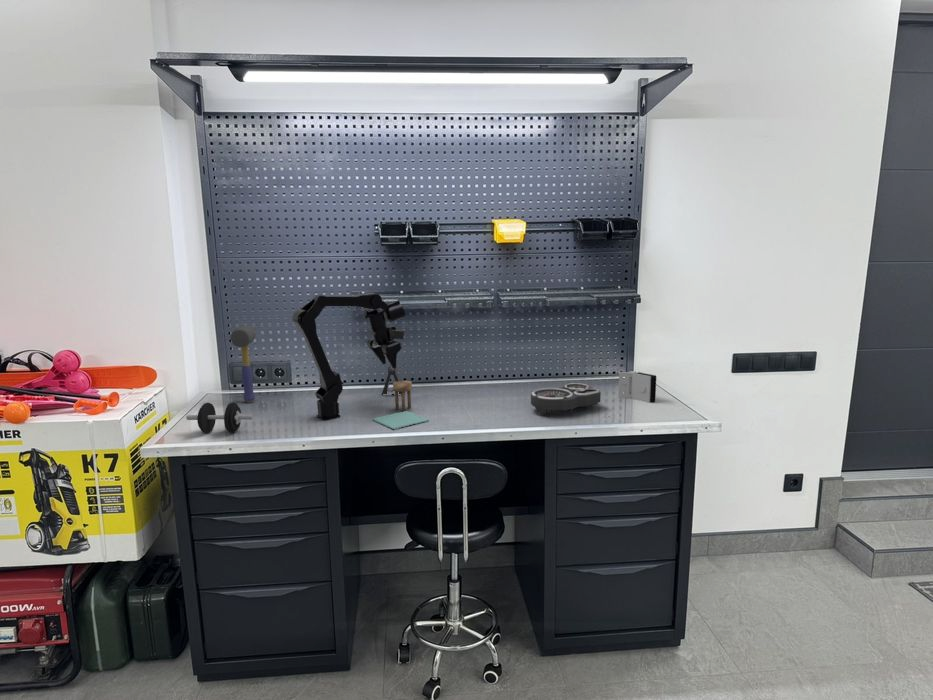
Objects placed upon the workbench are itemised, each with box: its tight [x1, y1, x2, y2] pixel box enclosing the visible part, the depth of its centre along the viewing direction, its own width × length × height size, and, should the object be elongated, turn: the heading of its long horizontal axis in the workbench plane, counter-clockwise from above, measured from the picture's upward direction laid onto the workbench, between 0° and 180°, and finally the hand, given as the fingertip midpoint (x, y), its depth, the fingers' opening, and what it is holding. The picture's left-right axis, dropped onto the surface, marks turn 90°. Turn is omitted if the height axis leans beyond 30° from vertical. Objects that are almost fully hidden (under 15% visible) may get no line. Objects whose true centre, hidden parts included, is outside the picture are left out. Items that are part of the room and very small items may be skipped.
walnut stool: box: [392, 380, 413, 412], centre depth 207 cm, size 7×7×10 cm
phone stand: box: [381, 364, 402, 396], centre depth 230 cm, size 9×6×12 cm, turn 91°
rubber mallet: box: [230, 324, 257, 404], centre depth 219 cm, size 12×8×30 cm, turn 8°
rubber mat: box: [372, 410, 430, 430], centre depth 195 cm, size 14×14×1 cm
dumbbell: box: [185, 401, 254, 434], centre depth 186 cm, size 22×10×10 cm, turn 88°
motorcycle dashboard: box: [530, 382, 602, 417], centre depth 204 cm, size 26×16×7 cm, turn 121°
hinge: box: [617, 370, 657, 404], centre depth 216 cm, size 14×5×10 cm, turn 51°
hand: (389, 366), depth 211 cm, fingers open, 9 cm apart
